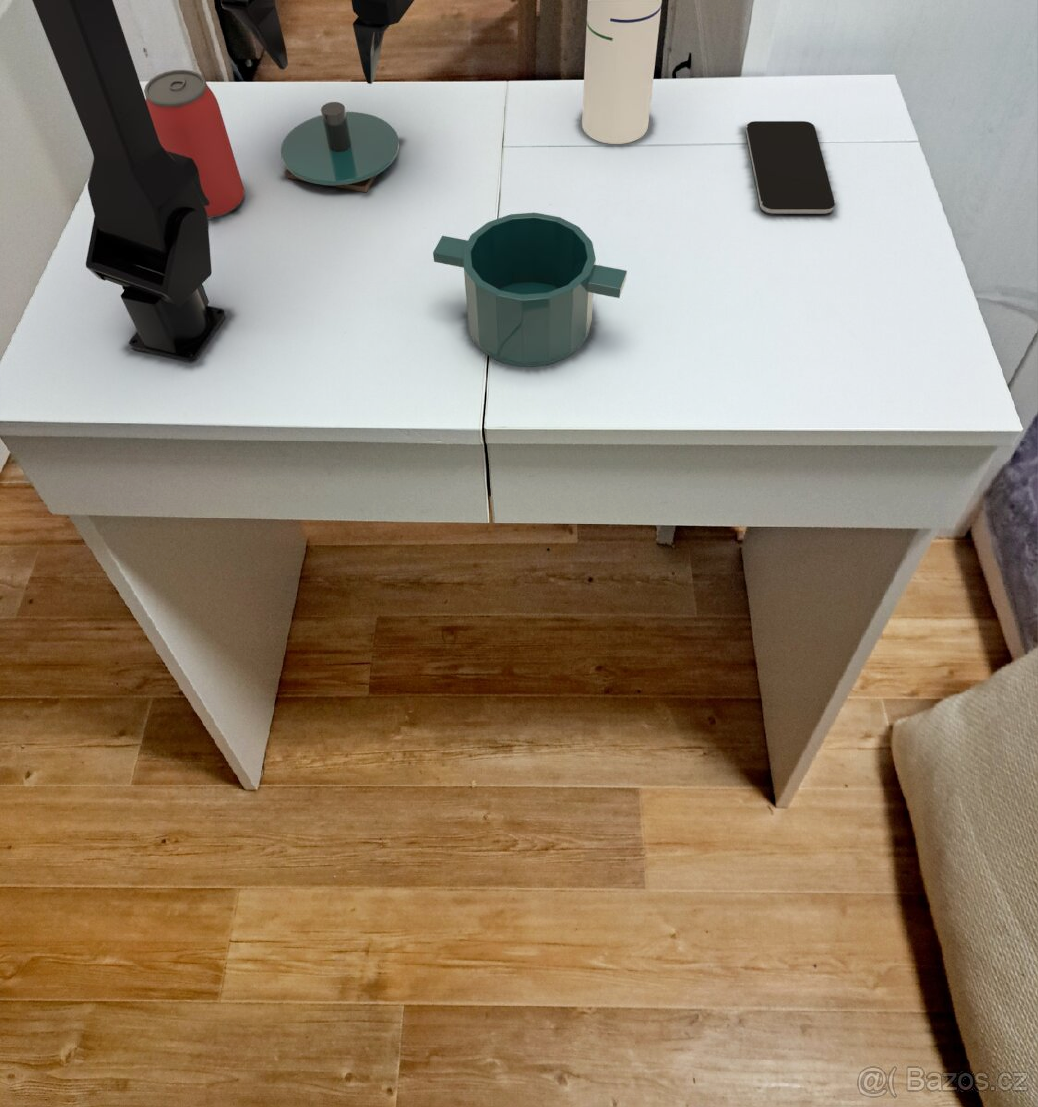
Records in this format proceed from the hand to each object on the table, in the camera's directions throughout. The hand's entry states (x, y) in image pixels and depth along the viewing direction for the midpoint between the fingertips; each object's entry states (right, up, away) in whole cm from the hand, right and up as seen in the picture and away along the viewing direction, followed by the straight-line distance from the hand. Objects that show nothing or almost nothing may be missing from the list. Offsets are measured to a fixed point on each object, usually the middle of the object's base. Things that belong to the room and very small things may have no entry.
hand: (327, 74), depth 89 cm
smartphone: (+46, -7, +6) cm, 47 cm away
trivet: (0, -5, +8) cm, 9 cm away
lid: (0, -4, +7) cm, 8 cm away
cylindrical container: (+29, 0, +11) cm, 31 cm away
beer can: (-12, -11, +4) cm, 17 cm away
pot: (+20, -26, -6) cm, 33 cm away
